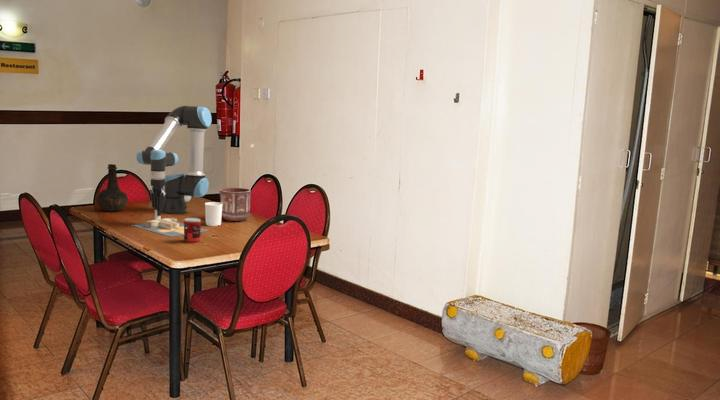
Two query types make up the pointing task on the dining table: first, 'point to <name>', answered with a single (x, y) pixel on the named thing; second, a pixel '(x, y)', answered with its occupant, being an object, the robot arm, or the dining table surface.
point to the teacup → (187, 198)
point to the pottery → (235, 203)
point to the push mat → (166, 230)
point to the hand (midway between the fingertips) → (157, 221)
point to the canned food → (192, 230)
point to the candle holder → (213, 213)
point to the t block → (163, 223)
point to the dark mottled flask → (112, 193)
